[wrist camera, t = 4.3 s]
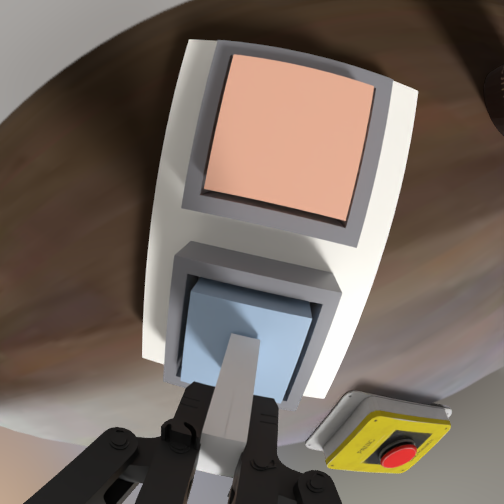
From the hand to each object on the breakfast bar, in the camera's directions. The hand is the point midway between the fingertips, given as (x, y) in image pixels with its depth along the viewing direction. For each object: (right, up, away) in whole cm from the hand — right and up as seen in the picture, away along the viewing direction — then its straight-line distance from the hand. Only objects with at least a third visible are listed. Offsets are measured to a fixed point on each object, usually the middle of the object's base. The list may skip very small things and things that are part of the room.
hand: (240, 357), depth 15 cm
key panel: (+2, +7, +5) cm, 9 cm away
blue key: (0, +1, +3) cm, 3 cm away
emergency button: (+14, -13, +11) cm, 22 cm away
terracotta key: (+2, +11, -1) cm, 11 cm away
